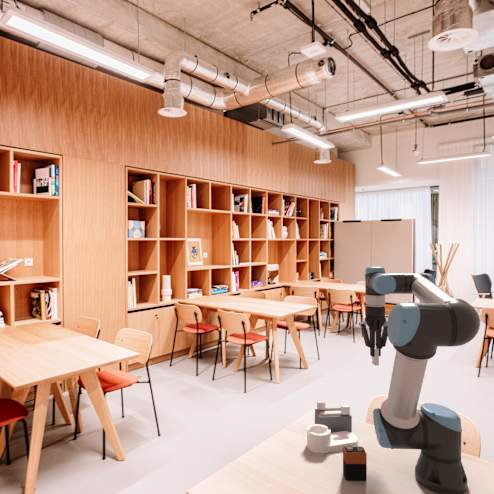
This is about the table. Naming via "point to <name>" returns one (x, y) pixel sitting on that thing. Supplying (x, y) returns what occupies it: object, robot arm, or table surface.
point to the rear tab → (321, 405)
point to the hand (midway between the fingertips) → (375, 364)
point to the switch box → (334, 419)
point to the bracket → (328, 439)
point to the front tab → (345, 409)
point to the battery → (354, 463)
